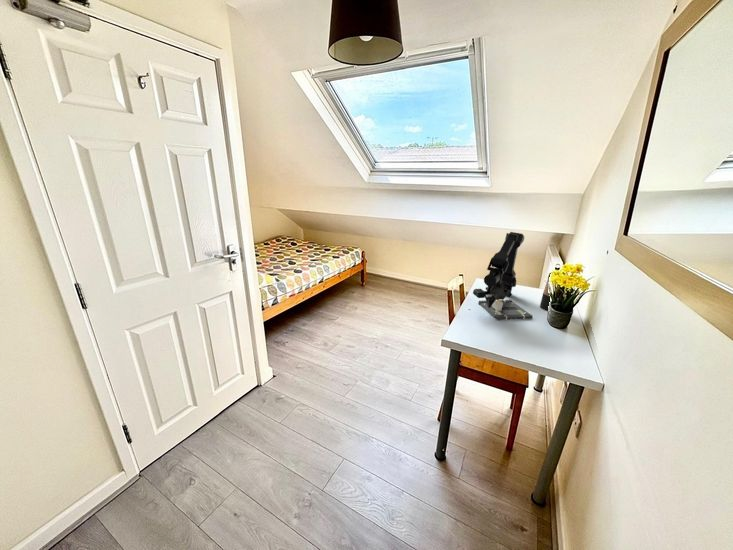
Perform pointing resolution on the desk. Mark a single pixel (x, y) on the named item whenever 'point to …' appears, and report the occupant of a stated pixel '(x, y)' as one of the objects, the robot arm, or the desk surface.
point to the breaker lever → (497, 305)
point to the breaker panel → (505, 309)
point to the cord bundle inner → (500, 300)
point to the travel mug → (545, 297)
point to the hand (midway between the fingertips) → (488, 307)
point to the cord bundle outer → (514, 317)
